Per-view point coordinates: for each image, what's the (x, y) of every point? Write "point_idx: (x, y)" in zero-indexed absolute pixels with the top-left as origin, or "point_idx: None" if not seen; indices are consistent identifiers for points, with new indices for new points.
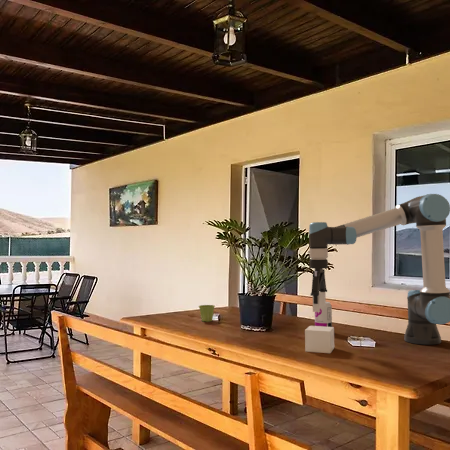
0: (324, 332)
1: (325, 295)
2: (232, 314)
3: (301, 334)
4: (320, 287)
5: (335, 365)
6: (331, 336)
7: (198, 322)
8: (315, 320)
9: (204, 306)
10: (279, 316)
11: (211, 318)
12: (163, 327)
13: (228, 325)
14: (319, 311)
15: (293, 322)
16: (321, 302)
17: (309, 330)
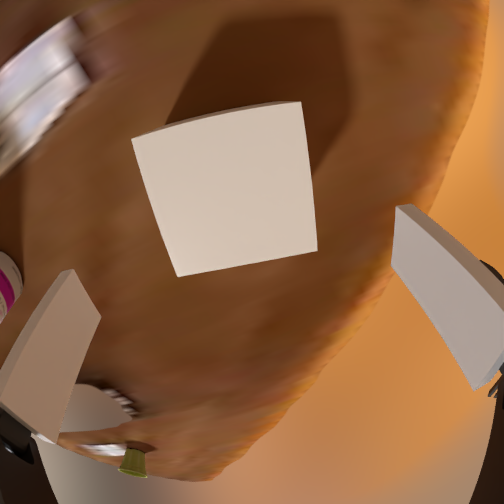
0: (304, 135)
1: (4, 362)
2: (66, 435)
3: None
4: (39, 492)
5: (430, 57)
6: (238, 109)
7: (155, 455)
8: (4, 316)
9: (129, 472)
10: None
11: (131, 452)
12: (224, 464)
13: (133, 433)
14: (413, 205)
15: None
16: (73, 333)
17: (314, 226)
